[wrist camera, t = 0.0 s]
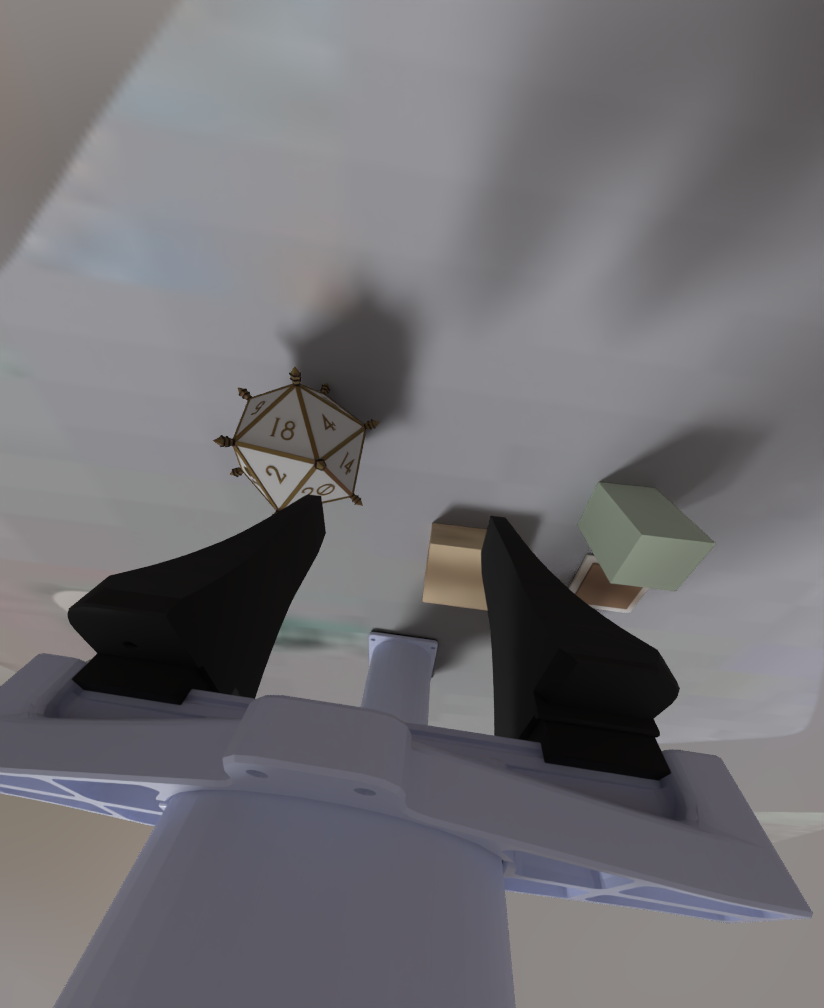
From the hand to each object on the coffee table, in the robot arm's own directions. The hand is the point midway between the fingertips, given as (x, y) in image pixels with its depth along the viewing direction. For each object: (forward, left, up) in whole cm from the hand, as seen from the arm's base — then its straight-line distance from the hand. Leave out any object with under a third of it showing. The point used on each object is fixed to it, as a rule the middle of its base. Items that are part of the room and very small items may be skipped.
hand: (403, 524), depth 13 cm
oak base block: (-11, -5, -10) cm, 16 cm away
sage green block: (-4, -15, -10) cm, 19 cm away
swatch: (-12, -18, -10) cm, 24 cm away
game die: (0, +7, -10) cm, 12 cm away
